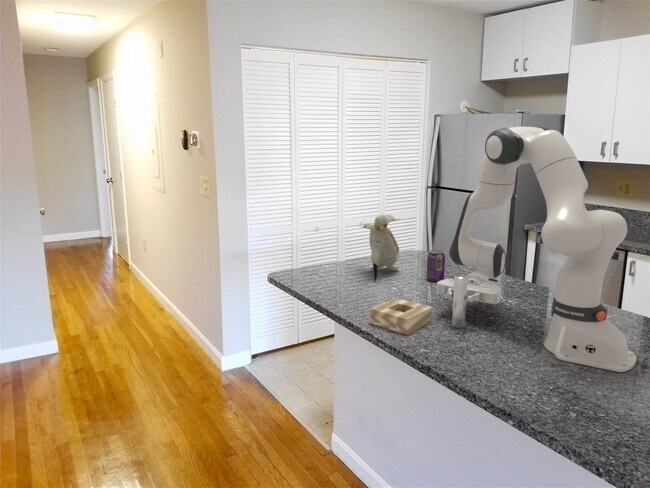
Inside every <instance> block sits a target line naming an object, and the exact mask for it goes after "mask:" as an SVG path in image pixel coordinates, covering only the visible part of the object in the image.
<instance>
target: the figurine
mask: <svg viewBox="0 0 650 488" xmlns="http://www.w3.org/2000/svg"><path fill="white" fill-rule="evenodd" d="M399 220H401V219H400V218H395V217H394V216H393V215H391V214H386V215H385V214H379V215H377V216H376V218H375V219H374V221H373V222H374V223H372V224H371V223H370V222H369V223H364V224H363V227H362V229H364V228H365V229H366V230H370V232H369V246H370V250H371V254H370V258H371V259H370V260H371V263H372V266H371V268H370V269H371V270H373V277H374V279H373V281H374V283H375V282H376V281H377V278H378V277H377V276H378V270H379V269H382V268H384V267H386V268H387V269H388V270H389V271H392V272H396V271H398V270H399V269H400V268H399V266H394V265H395V264H396V262H397V261H398V257H399V256H400V248H399V245H398V242H397V240H396V238H395V236H394V234H393V233H392V230H391V229H390V228H389V227H388V224H390V223H392V222H394V221H399Z"/></svg>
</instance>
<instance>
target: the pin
mask: <svg viewBox="0 0 650 488" xmlns="http://www.w3.org/2000/svg"><path fill="white" fill-rule="evenodd" d="M467 282H468V277H467V275H463V274H457V275H454V293H453V298H452V313H451V314H452V316H451V318H452V319H451V327H454V328H458V329H463V328H465V326H466V317H467V316H466V315H467V314H466V311H467Z"/></svg>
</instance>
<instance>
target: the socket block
mask: <svg viewBox="0 0 650 488" xmlns="http://www.w3.org/2000/svg"><path fill="white" fill-rule="evenodd" d="M432 308H433V307H432V306H429V305H425V304H423V303H422V304H421V303H418V302H413V301H409V300H406V299H401V298H400V297H399V298H398V297H394V298H390V299H389V300H387V301H385V302H382V303H380V304H377V305H375V306H374V307H371V308H370V309H369V314H370V315H369V324H370V323H371V324H370V325H373V324H374V325H375V326H377V325H378V326H377V327H380V326H381V327H380V328H383V329H387V330H389V331H393V332H397V333H399V334H403V335H405V336H408V335H410V334H411V333H414V332H416V331H418V330H419V329H420V328H422V327H424V326H426V325H428V324H430V323H431V322H432V313H433V312H432Z"/></svg>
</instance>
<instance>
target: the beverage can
mask: <svg viewBox="0 0 650 488" xmlns="http://www.w3.org/2000/svg"><path fill="white" fill-rule="evenodd" d="M445 267H446V255H445V251H444V250H440V249H431V250H428V254H427V258H426V279H427V280H428V281H430V282H433V283H434V282H436V283H437V282H439V281H441V280H444V279H445V271H446V270H445V269H446V268H445Z"/></svg>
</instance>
